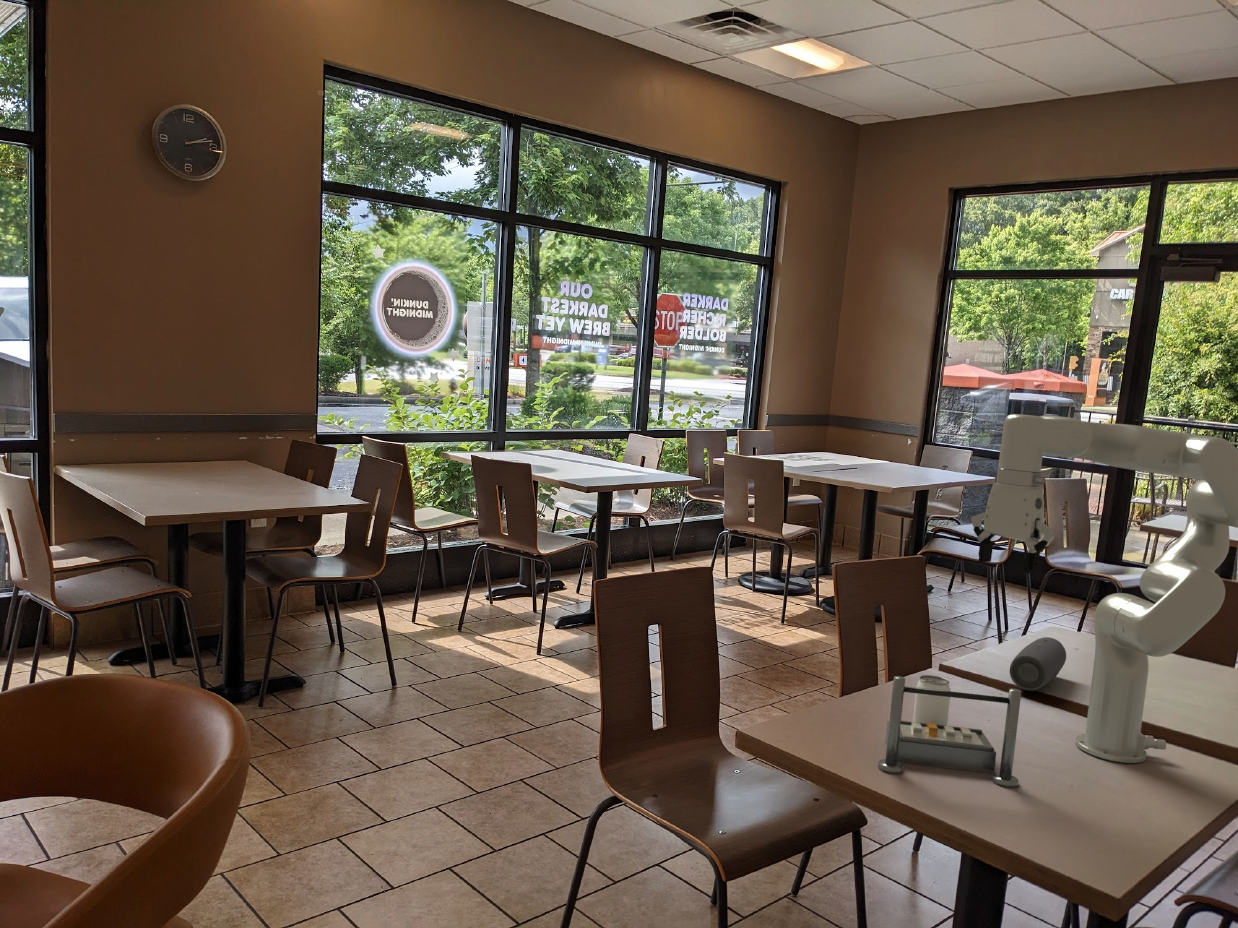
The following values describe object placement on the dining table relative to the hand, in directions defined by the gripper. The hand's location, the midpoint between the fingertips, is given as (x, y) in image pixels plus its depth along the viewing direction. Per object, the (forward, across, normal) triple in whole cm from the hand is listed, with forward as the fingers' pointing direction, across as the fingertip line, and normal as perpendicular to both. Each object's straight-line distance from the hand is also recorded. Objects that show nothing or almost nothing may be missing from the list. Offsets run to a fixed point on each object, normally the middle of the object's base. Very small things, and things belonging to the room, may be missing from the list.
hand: (1006, 567), depth 183 cm
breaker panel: (+36, +1, +13) cm, 38 cm away
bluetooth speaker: (+36, +19, -49) cm, 64 cm away
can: (+36, +8, +7) cm, 38 cm away
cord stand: (+36, -5, +19) cm, 41 cm away
